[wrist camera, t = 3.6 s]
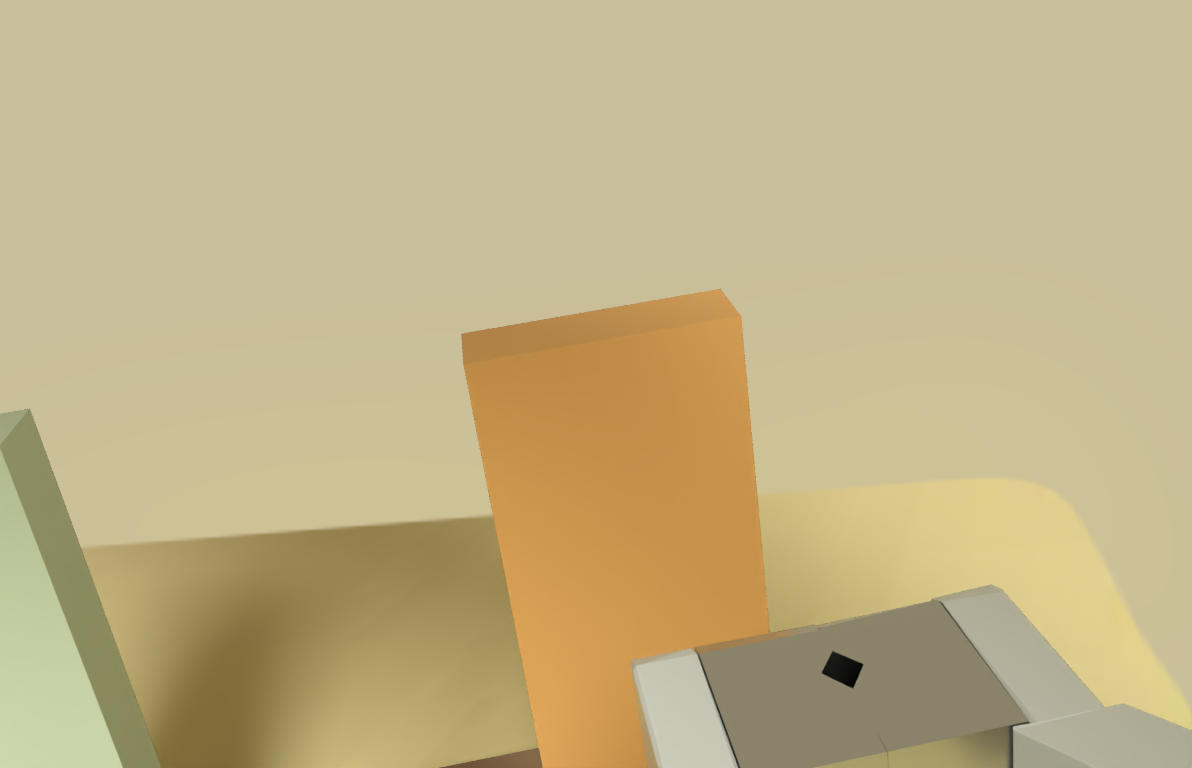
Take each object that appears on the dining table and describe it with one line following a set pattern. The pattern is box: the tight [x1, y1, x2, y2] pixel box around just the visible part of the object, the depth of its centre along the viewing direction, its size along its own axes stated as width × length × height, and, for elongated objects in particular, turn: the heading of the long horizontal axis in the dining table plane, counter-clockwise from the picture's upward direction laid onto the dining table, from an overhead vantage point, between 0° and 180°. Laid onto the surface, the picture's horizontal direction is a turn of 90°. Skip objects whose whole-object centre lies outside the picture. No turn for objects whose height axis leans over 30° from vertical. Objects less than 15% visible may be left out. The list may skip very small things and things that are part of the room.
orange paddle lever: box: [462, 289, 770, 768], centre depth 23 cm, size 5×2×13 cm, turn 97°
